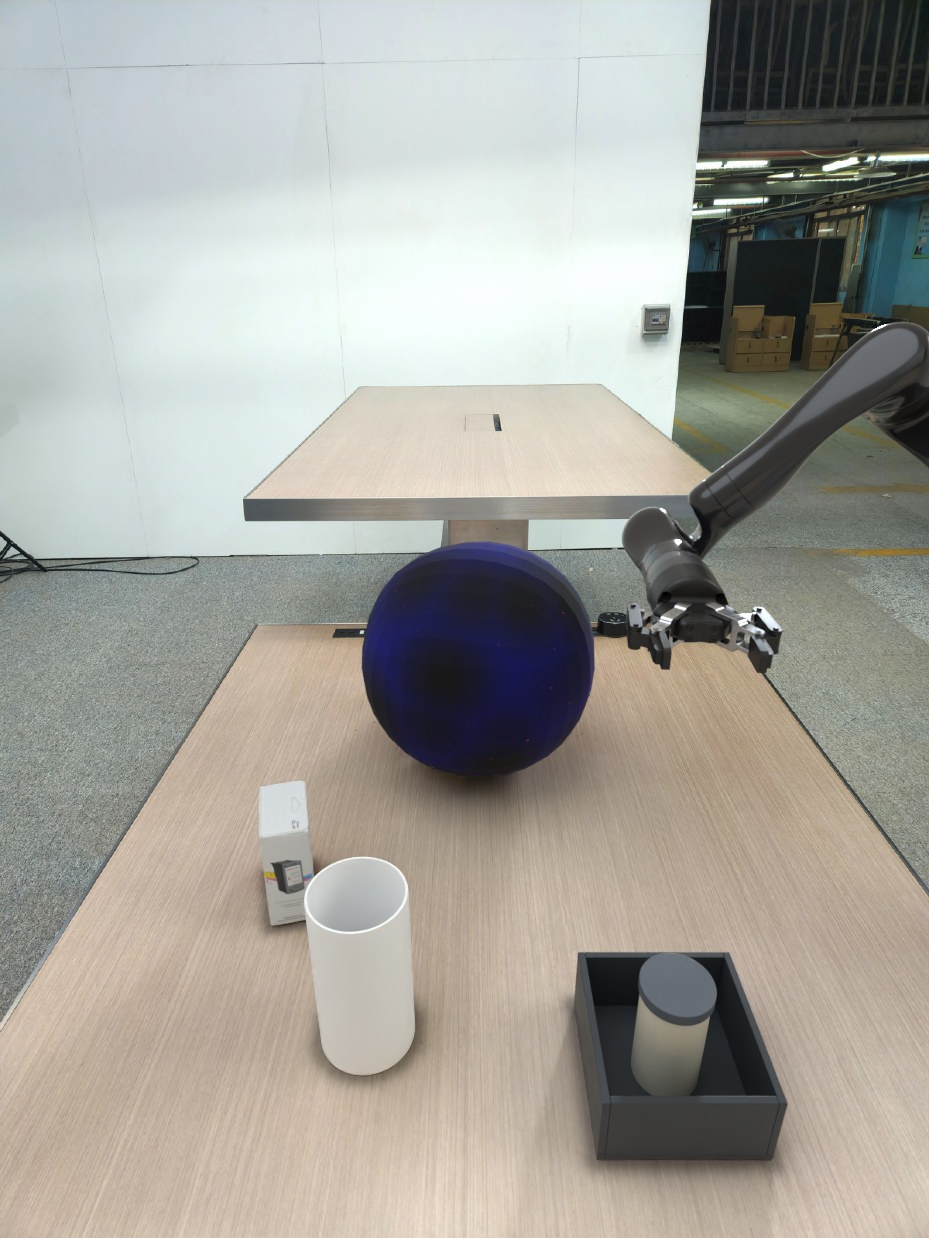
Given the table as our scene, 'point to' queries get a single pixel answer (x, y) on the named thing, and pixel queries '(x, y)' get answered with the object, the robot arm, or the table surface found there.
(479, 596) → the ball
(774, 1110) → the open storage box
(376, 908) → the cup
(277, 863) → the ink box
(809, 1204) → the table surface
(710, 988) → the container
